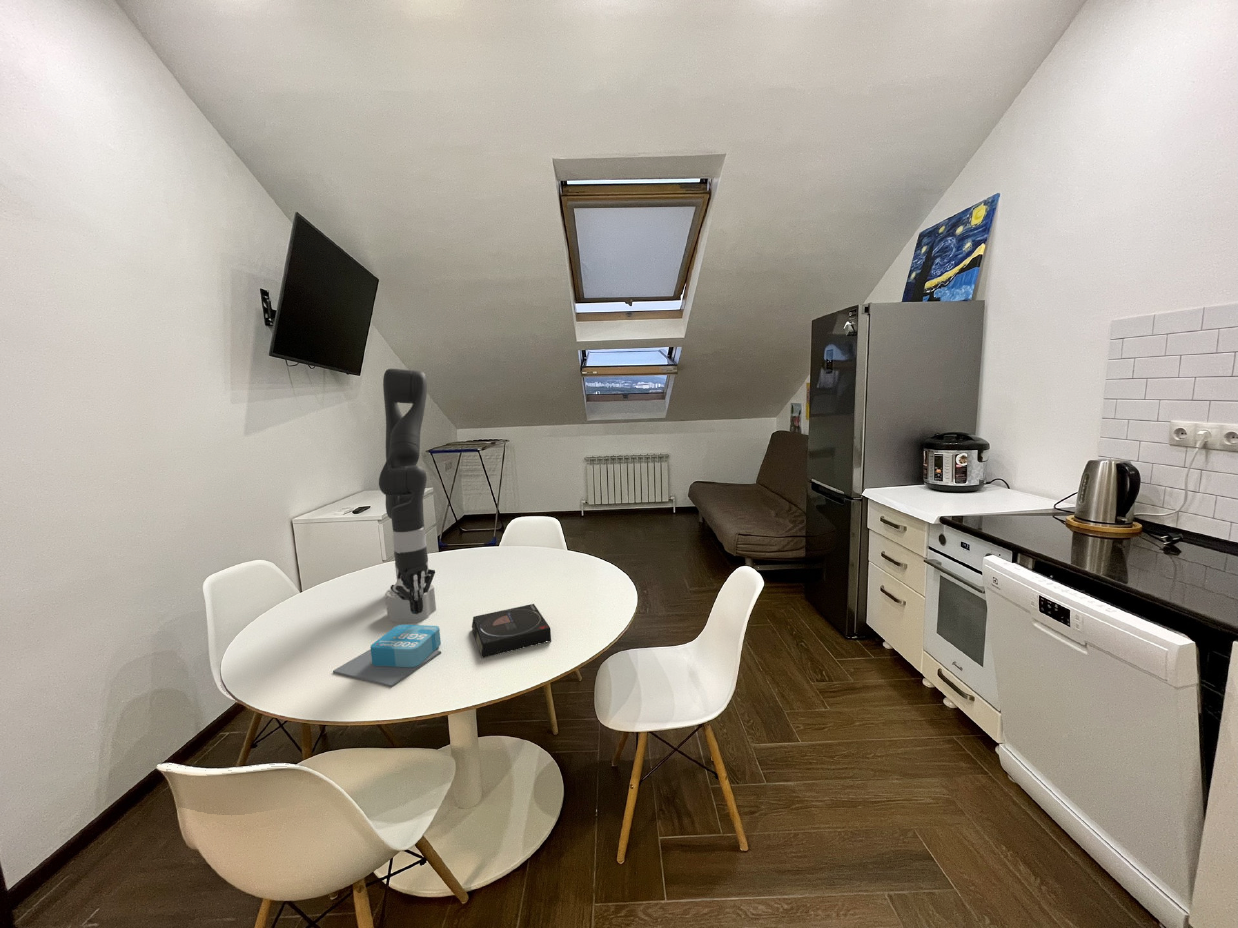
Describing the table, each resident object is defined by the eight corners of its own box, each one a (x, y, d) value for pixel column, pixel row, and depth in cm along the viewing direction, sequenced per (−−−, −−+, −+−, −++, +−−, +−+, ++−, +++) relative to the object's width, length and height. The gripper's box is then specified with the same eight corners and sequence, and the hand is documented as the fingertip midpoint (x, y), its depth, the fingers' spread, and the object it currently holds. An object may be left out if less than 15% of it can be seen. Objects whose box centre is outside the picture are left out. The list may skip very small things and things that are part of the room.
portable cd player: (472, 631, 131) (470, 617, 131) (534, 617, 138) (533, 603, 138) (481, 660, 117) (480, 644, 116) (551, 642, 123) (550, 627, 123)
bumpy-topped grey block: (422, 622, 137) (419, 593, 136) (378, 622, 139) (375, 592, 138) (440, 606, 147) (437, 579, 146) (399, 606, 149) (396, 578, 148)
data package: (441, 625, 123) (414, 649, 112) (443, 642, 124) (416, 668, 112) (398, 623, 125) (367, 647, 114) (400, 640, 126) (369, 665, 114)
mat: (333, 672, 113) (332, 670, 113) (386, 641, 127) (386, 640, 126) (391, 687, 106) (391, 685, 106) (441, 653, 120) (441, 651, 120)
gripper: (418, 537, 129) (425, 600, 131) (376, 553, 117) (384, 622, 119) (441, 539, 126) (447, 604, 129) (400, 555, 114) (408, 626, 117)
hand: (417, 612), depth 124 cm, fingers closed
